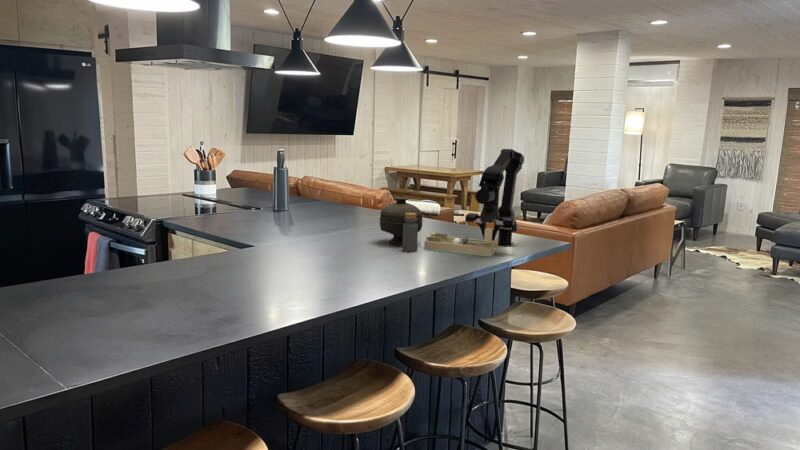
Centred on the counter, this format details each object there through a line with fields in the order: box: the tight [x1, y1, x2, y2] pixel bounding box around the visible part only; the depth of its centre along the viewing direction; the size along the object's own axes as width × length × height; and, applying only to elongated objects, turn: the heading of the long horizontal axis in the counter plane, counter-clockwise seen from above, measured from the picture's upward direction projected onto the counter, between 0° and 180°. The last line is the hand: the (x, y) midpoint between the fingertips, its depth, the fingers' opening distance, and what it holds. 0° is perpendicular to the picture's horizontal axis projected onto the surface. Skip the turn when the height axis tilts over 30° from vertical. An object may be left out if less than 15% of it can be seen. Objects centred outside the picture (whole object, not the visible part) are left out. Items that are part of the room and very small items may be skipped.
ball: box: [452, 237, 461, 244], centre depth 236 cm, size 4×4×4 cm
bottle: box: [401, 213, 419, 253], centre depth 229 cm, size 6×6×15 cm
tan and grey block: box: [462, 227, 494, 250], centre depth 232 cm, size 5×12×8 cm, turn 70°
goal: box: [425, 232, 448, 243], centre depth 238 cm, size 10×6×4 cm, turn 160°
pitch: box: [423, 236, 499, 258], centre depth 235 cm, size 14×27×4 cm, turn 70°
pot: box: [379, 196, 423, 247], centre depth 242 cm, size 18×18×20 cm
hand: (488, 240), depth 231 cm, fingers closed on tan and grey block, 3 cm apart
